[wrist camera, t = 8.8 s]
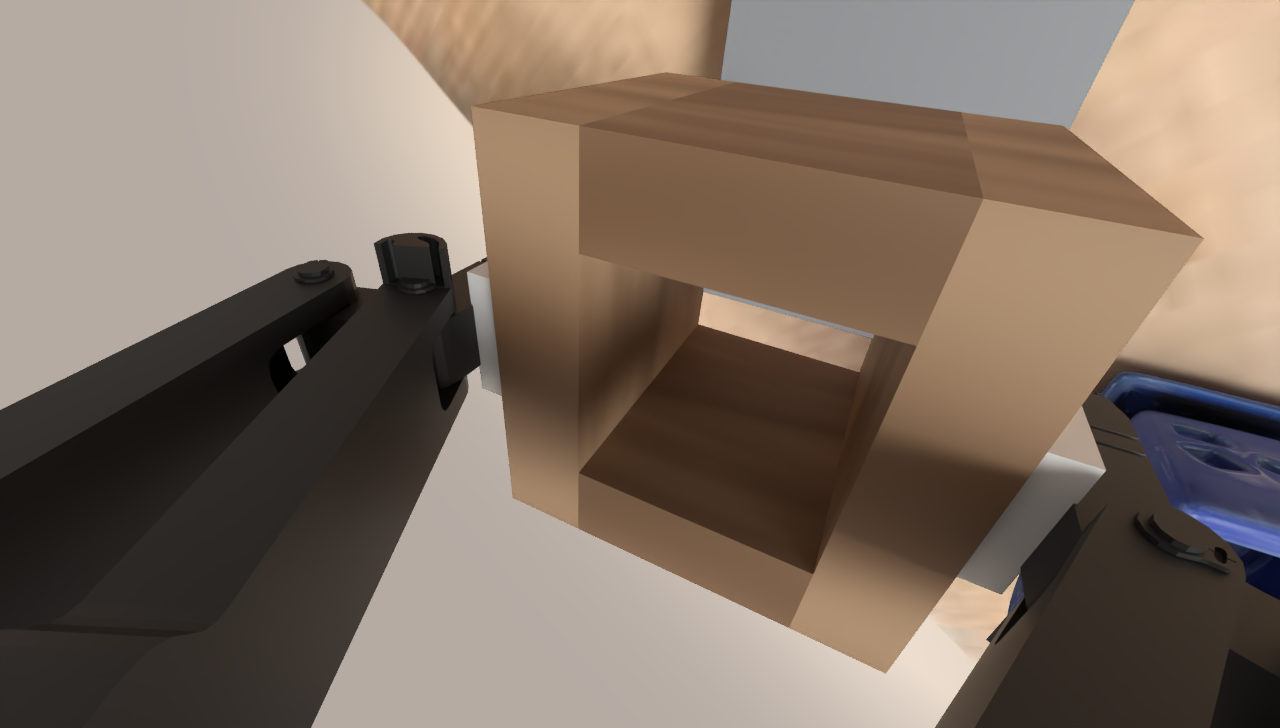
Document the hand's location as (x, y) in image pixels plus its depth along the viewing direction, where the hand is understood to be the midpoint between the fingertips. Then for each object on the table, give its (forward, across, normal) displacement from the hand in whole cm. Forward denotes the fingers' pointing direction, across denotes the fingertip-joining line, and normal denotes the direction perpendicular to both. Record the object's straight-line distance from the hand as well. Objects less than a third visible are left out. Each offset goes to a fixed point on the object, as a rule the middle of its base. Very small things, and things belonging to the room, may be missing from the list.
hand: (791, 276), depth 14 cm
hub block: (0, 0, -2) cm, 2 cm away
